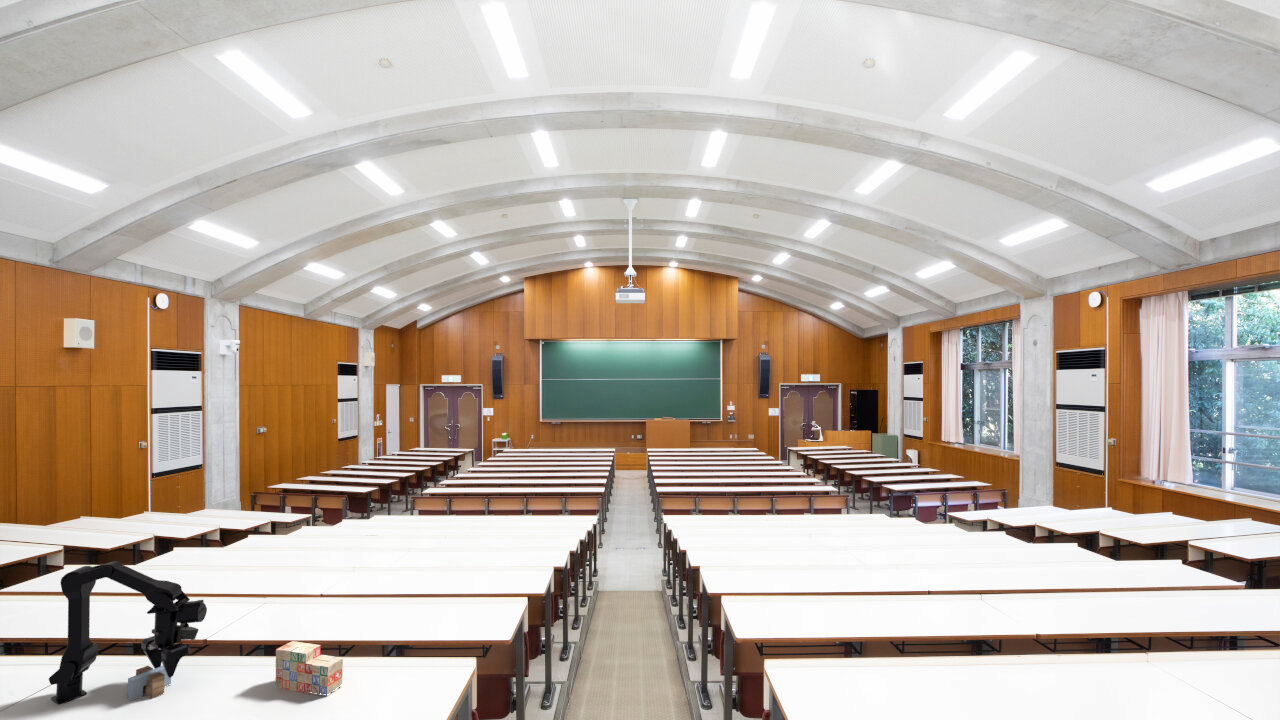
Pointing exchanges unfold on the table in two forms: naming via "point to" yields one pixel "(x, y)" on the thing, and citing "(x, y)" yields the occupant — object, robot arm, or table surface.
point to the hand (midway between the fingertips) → (164, 673)
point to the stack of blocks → (307, 669)
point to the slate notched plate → (143, 682)
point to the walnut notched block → (152, 682)
